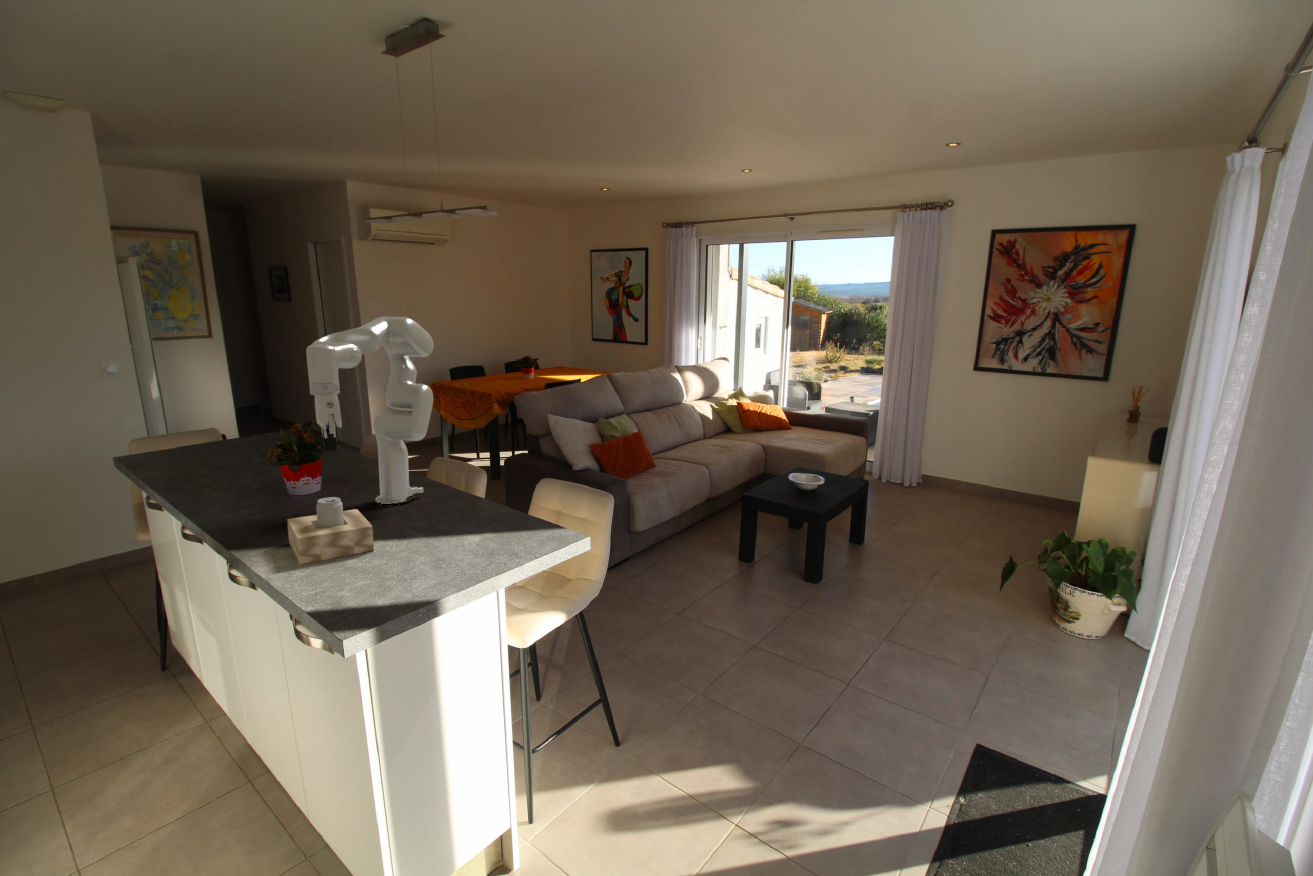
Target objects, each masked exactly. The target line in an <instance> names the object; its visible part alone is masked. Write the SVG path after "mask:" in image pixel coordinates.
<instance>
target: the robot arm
mask: <svg viewBox="0 0 1313 876" xmlns="http://www.w3.org/2000/svg"><path fill="white" fill-rule="evenodd" d="M434 345H435V344H434V340H433V338H432V336H431V335H430V333H429V332H428V331H427V330H426V329H424V328H423V327H422V326H421V325H420V324H419V323H418V322H416V321H415V320H413V319H411V318H409V317H407V316H384V315H383V316H379V317H377V318H374V319H373V320H371V321H369V322H368V323H365V324H364V325H361V326H359V327H355V328H351V329H347V330H343V331H342V330H341V331H338V332H333V333H330V334H327V335H325V336H322V337H320V338H318V339H316V340H314V342H312V343H311V344H310V345H308V346H307V348H306V352H305V353H306V363H307V374H308V375H307V376H308V383H309V393H310V395H311V396H314V409H315V419H316V424H318V425H319V427H321V434H322V438H321V439H322V446H323V448H322V449H323V451H324V452H326V453H327V452H335V451H338V446H337V436H336V435H337V434H336V427H337V428H338V429H341V428H342V427H343V423H342V415H341V414H342V413H341V408H340V407H341V406H340V401H339V397H338V394H341V391H340V390H341V388H340V379H339V378H340V376H339V369H352V368H355V367H357V366H358V365H359V364H360V363H361V361H362V356H363V355H365V354H372V353H375V352H376V351H378V350H379V349H381V348H384V351H385V353H386V355H387V357H388V359H389V363H390V375H389V379H388V382H387V383H388V384H387V388H386V392H385V396H384V397H385V398H384V403H385V404H386V406H387V407H388V408H390V409H393V410H399V411H383V412H380V413H378V414H377V415H375V418H374V420H373V430H374V434H375V438H376V444H377V453H378V454H377V456H378V457H377V458H378V476H379V477H378V478H379V479H378V480H379V494H380V495H377V496H376V497H375V503H376V502H377V503H376V504H378V503H381V504H380V505H382V504H391V503H398V502H403V501H406V500H405V499H407V497H409V496H412V495H413V494H414V495H415V494H422V493H424V490H425V489H424V487H423V486H421V487H418V486H410V474H409V473H410V472H409V471H410V470H409V451H408V448H407V445H406V444H405V441H411V442H412V441H413V442H415V441H416V442H418V441H422V440H423V439H424V438H425V436H426V434H427V432H428V428H429V423H430V420H431V419H430V418H431V415H432V411H433V403H434V394H433V390H432V389H431V387H430V386H429V385H427V384H424V383H416V382H417V376H418V371H417V368H416V366H415V364H414V363H413V361H412V360H411V359H410V357H414V358H415V357H416V358H426V357H429V356H430V355H431V354H432V353H433V351H434ZM400 410H402V411H412V412H402V411H400Z"/></svg>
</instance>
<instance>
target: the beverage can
mask: <svg viewBox="0 0 1313 876" xmlns="http://www.w3.org/2000/svg"><path fill="white" fill-rule="evenodd" d="M343 506H344V505H343V502H342V499H341V497H337V496H331V497H330V496H329V497H323V498H319V499H318V500H317V503H316V506H315V507H316V508H315V509H316V515H317V524H318V529H321V528H328V527H334V526H340V525H344V521H343V511H344V507H343Z"/></svg>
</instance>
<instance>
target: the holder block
mask: <svg viewBox="0 0 1313 876" xmlns="http://www.w3.org/2000/svg"><path fill="white" fill-rule="evenodd" d="M286 520H287V521H286V522H287V533H288V544H289V546H290V548H291V550H292V552H293V555H294V556H295V558H296V557H297V558H296V561H297V562H298V564H299V565H306V564H310V562H311V563H316V562H321V561H325V560H332V558H333V559H336V558H335V557H338V558H342V557H341V556H343V557H347V556H346V555H349V556H351V555H350V554H354V555H356V554H355V553H359V554H362V553H361V552H365V553H367V552H366V551H370V550H374V530H373V525H372V524H371V523H370V521H368V520H367V518H366V517H365V516H364V515H363V514H362V513H361V512H360V511H359V510H358V509H357V508H356V509H355V508H353V509H348V510H343V521H344V525H340V526H334V527H328V528H321V529H318V524H317V514H313V515H306V516H299V517H294V518H293V517H292V518H287V519H286ZM370 552H371V551H370ZM305 563H306V564H305Z"/></svg>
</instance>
